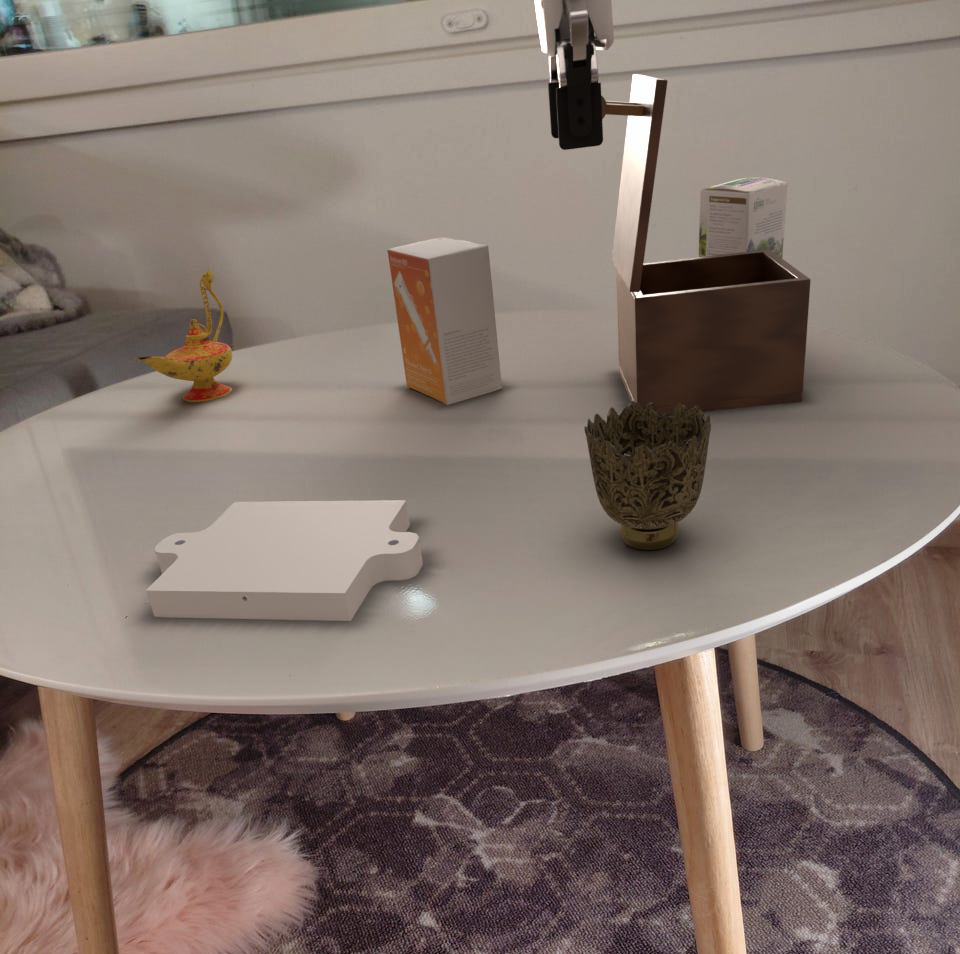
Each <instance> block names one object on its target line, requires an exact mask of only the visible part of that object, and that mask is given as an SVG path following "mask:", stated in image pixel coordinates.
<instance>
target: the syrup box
mask: <svg viewBox="0 0 960 954" xmlns="http://www.w3.org/2000/svg"><path fill="white" fill-rule="evenodd" d="M699 192H700V193H699V221H698V222H699V225H698V226H699V229H698V230H699V231H698V233H699V234H698V257H705V256H714V255H723V254H732V253H741V252H750V251H759V250H768V249H770V250H771V251H773V252H774V253H775V254H777V255H778V256H779V257H781V258H782V259H783V255H784V242H785V224H786V213H787V212H786V211H787V196H788V194H787V193H788V183H787V182H786V181H785V180H780V179H775V178H770V177H769V178H768V177H744V178H737V179H733V180H730V181H727V182H722V183H719V184H714V185H712V186H708V187H704V188H701V189H700V191H699Z"/></svg>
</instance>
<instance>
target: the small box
mask: <svg viewBox="0 0 960 954" xmlns="http://www.w3.org/2000/svg"><path fill="white" fill-rule="evenodd" d="M387 258H388V263H389V269H390V271H389V272H390V279H391V284H392V290H393V291H392V292H393V299H394V305H395V313H396V319H397V326H398V332H399V333H398V334H399V341H400V346H401V355H402V361H403V369H404V375H405V383H406V387H407V388H408V389H409V388H410V389H412V390H414V391H417V392H419V393H421V394H424V395H425V396H428V397H430V398H432V399H434V400H437V401H438V402H441V403H443V404H444V405H446V406H450V405H454V404H456V403H459V402H462V401H466V400H470V399H473V398H476V397H480V396H483V395H487V394H490V393H493V392H497V391H499V390H501V389H503V383H502V373H501V372H502V371H501V364H500V353H499V344H498V343H499V342H498V331H497V322H496V321H497V320H496V312H495V311H496V310H495V304H494V303H495V300H494V290H493V280H492V270H491V260H490V250H489V245H488V244H481V243H476V242H473V241H469V240H466V239H465V240H464V239H455V238H450V237H446V236H445V237H436V238H431V239H426V240H421V241H417V242H416V241H415V242H412V243H408V244H403V245H399V246H395V247H391V248H387Z"/></svg>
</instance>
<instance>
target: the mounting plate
mask: <svg viewBox="0 0 960 954" xmlns="http://www.w3.org/2000/svg"><path fill="white" fill-rule="evenodd" d="M410 526H411V521H410V517H409V510H408V503H407V500H406V499H385V500H380V499H377V500H370V499H369V500H368V499H367V500H289V501H288V500H284V501H283V500H282V501H281V500H280V501H277V500H276V501H234V502H233V503H232V504H231V505H229V507H228V508H227V509H226V510H225V511H223V513H221V515H220V516H219V517H217V518H216V520H214V522H213V523H212V524H211V525H209V526H208V527H207V528H204V529H202V530H199V531H194V532H192V531H191V532H177V533H172V534H170V535H168V536H166V537H164V538H163V539H162V540H160V542H159V543H157V544H156V546H155V547H154V553H155V556H156V559H157V562H158V565H159V568H160V571H161V575H159V577H157V579H156V580H155V581H153V583H152V584H151V585H150V586H148V587H147V588H146V590H145V592H146V595H147V599H148V601H149V605H150V608H151V611H152V614H153V617H154V618H177V619H178V618H179V619H180V618H181V619H182V618H186V619H187V618H188V619H227V620H228V619H229V620H230V619H232V620H233V619H234V620H279V621H281V620H283V621H284V620H285V621H329V622H331V621H332V622H351V621H352V620H353V618H354V617H355V615H356V614H357V612H358V610H359V609H360V607H361V605H363V602H364V601H365V599H366V597H367V596H368V594H369V592H370V591H371V589H372V588H373V587H374V586H376V584H380V583H382V582H387V581H406V580H407V581H408V580H410V579H412V578H415V577H416V576H417V575H418V574H419V573H420V571H421V569H422V567H423V565H424V562H423V555H422V549H421V543H420V537H419V535H418V534H417V533H416V532H411V531H408V529H409V528H410Z"/></svg>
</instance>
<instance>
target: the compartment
mask: <svg viewBox="0 0 960 954" xmlns="http://www.w3.org/2000/svg"><path fill="white" fill-rule="evenodd" d="M615 280H616V307H617V308H616V312H617V315H616V316H617V341H618V344H617V345H618V346H617V347H618V366H619V367H618V374H619V377H620V379H621V382H622V384H623V387H624V389H625V391H626V394H627V396H628V398H629V401H630V403H631V402H632V401H635V402H637V403H638V404H639V405H640V406H642V407H643V408H642V409H643V410H645V409H646V407H647V405H648V404H649V403H650V402H652V403H654V405H655V411H656V412H657V413H658V415H659V414H665V413H666V414H668V415H672V414H673V413H674V409H675V407H676V406H677V405H678V404H679V403H681V404H683V405H685V406H686V410H687V411H689V410H690V409H692V408H694V407H695V406H699V407H700V409H701V411H702V412H703V413H705V412H714V411H726V410H734V409H743V408H745V409H746V408H753V407H763V406H764V407H765V406H773V405H783V404H793V403H802V402H803V393H804V382H805V381H804V380H805V368H806V367H805V366H806V352H807V337H808V336H807V335H808V325H809V323H808V321H809V307H810V296H811V295H810V294H811V293H810V292H811V281H812V280H811V278H810V277H808V276H807V275H805V274H804V273H803V272H801V271H800V270H799V269H797V268H796V267H794V266H793V265H792V264H790V263H789V262H787V261H786V260H785V259H784V258H783V257H782V258H781V257H779V256H778V255H777V254H775V253H774V252H773V251H771V250H770V249H768V250H759V251H750V252H741V253H732V254H723V255H714V256H705V257H699V256H696V257H689V258H687V257H686V258H679V259H678V258H677V259H669V260H662V261H652V262H644V263H643V271H642V278H641V286H640V292H630V291H629V290H628V288H627V286H626V285H625V283H624V281H623V279H622V278H621V276H620V274H619V273H618V271H617V269H616V268H615ZM673 415H674V414H673ZM673 415H672V416H673ZM661 416H663V415H661Z"/></svg>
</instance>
